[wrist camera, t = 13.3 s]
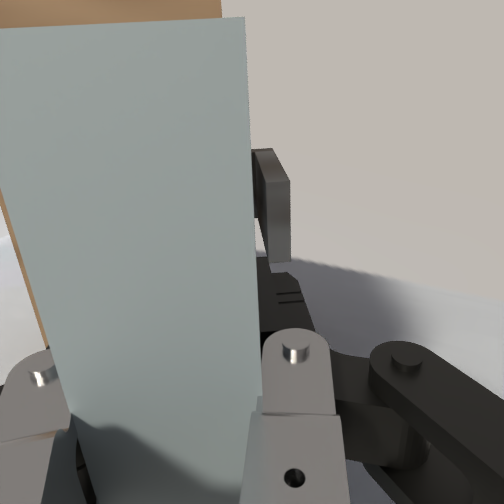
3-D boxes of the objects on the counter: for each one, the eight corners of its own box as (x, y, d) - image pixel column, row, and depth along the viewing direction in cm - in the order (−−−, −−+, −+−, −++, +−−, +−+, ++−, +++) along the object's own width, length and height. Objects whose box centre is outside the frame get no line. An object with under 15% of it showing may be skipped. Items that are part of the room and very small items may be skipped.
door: (186, 373, 22) (139, 42, 15) (246, 368, 22) (224, 38, 15) (158, 697, 11) (-48, 30, 4) (275, 682, 11) (245, 16, 5)
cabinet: (96, 307, 30) (25, 14, 22) (264, 293, 31) (252, 3, 23) (26, 463, 19) (-168, -15, 11) (292, 437, 20) (288, -35, 12)
